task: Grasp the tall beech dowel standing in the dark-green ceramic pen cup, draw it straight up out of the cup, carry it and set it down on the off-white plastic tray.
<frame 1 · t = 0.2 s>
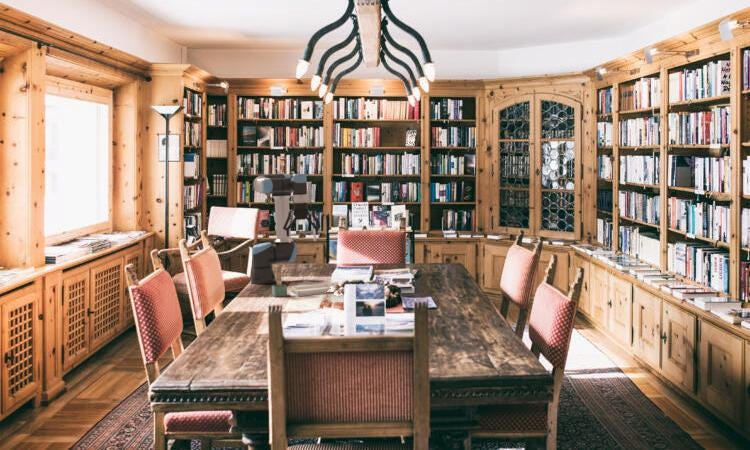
hand: (302, 241, 372), 28 cm above the table, fingers open, 13 cm apart
dowel: (278, 280, 367), in the pen cup
tray: (314, 291, 374), on the table
pen cup: (279, 295, 368), on the table
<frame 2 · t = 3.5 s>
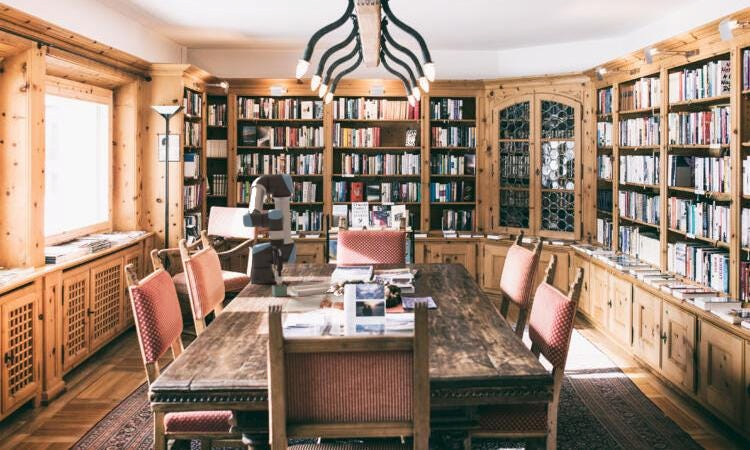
hand: (279, 282, 367), 7 cm above the table, fingers closed on dowel, 3 cm apart
dowel: (278, 280, 367), in the pen cup, touching gripper
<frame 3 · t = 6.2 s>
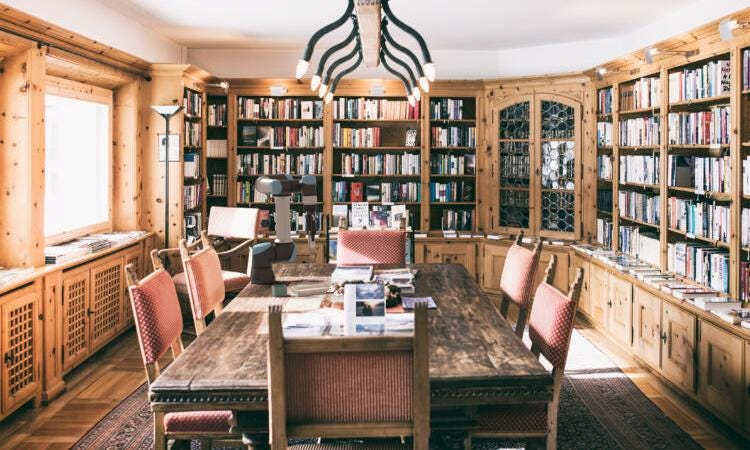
hand: (311, 247, 372), 24 cm above the table, fingers closed on dowel, 3 cm apart
dowel: (311, 245, 372), point 25 cm above the table, touching gripper
when the fingers open (9 cm above the table, at t = 9.2 s): dowel drops 1 cm, resting on tray.
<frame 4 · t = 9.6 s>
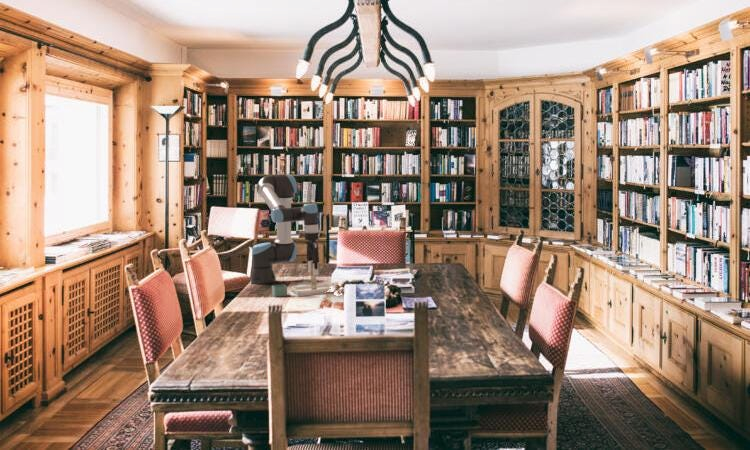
hand: (313, 273, 373), 10 cm above the table, fingers open, 8 cm apart
dowel: (313, 275, 373), in the tray, point 9 cm above the table
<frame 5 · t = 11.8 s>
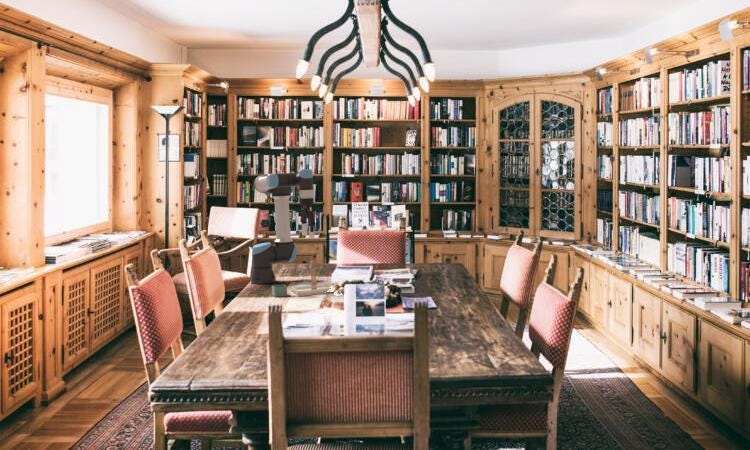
hand: (308, 236, 374), 30 cm above the table, fingers open, 13 cm apart
nothing on the table moved.
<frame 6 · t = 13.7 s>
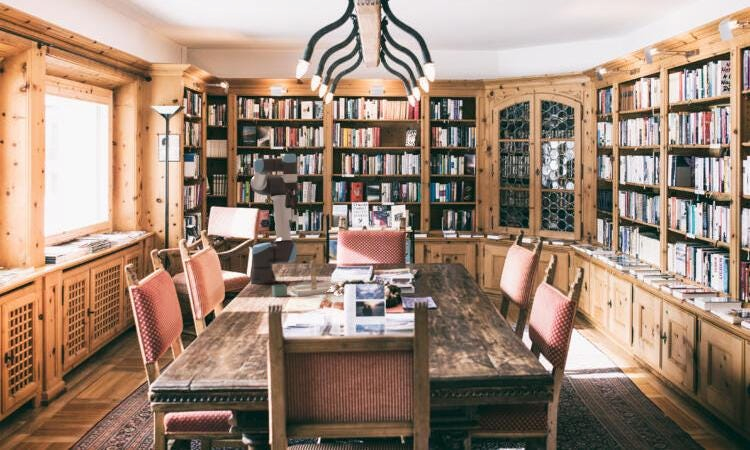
hand: (292, 220, 380), 39 cm above the table, fingers open, 13 cm apart
nothing on the table moved.
at the end: dowel inside the target area on the tray (0.1 cm from its centre), point 9.0 cm above the tray's base; the gripper is holding nothing; dowel touching tray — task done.
